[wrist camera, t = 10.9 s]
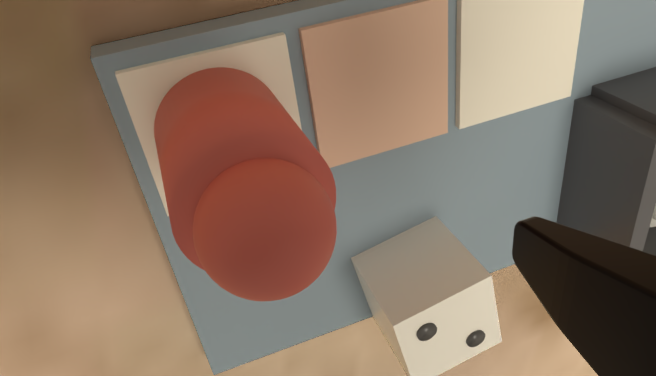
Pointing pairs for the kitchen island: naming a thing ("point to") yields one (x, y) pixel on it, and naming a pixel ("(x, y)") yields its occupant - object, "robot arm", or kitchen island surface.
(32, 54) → the kitchen island surface
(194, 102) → the pawn
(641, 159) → the button housing
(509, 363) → the kitchen island surface
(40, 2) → the kitchen island surface
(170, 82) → the board
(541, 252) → the robot arm
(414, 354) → the beige cube
